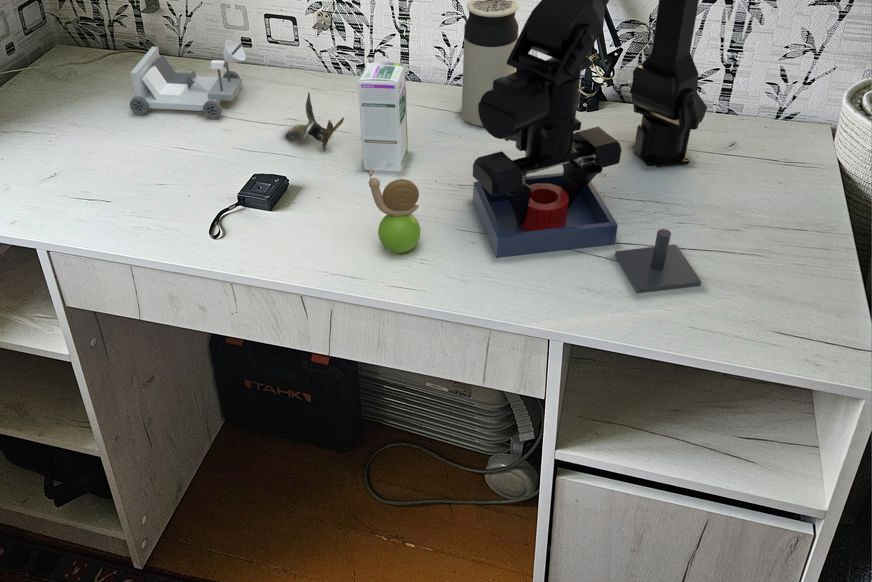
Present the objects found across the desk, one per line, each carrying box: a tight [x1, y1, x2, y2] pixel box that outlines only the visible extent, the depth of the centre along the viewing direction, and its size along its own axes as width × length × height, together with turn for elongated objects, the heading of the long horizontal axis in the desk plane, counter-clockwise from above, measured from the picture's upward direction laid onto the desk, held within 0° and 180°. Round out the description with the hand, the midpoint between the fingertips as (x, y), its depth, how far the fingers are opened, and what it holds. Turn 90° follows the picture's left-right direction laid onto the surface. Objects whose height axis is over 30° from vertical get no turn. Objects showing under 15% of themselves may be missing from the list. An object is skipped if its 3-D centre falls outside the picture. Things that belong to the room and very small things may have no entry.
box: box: [472, 172, 619, 259], centre depth 125 cm, size 16×14×3 cm
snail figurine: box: [367, 169, 421, 254], centre depth 118 cm, size 5×6×12 cm
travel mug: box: [461, 0, 519, 127], centre depth 143 cm, size 8×8×18 cm
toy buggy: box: [129, 39, 247, 120], centre depth 153 cm, size 18×10×12 cm
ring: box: [517, 183, 569, 232], centre depth 124 cm, size 7×7×4 cm
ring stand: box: [614, 228, 702, 294], centre depth 115 cm, size 8×8×6 cm
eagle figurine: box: [284, 91, 345, 152], centre depth 143 cm, size 8×7×9 cm
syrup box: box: [357, 61, 409, 173], centre depth 134 cm, size 6×6×14 cm
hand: (541, 216), depth 125 cm, fingers closed on ring, 6 cm apart
